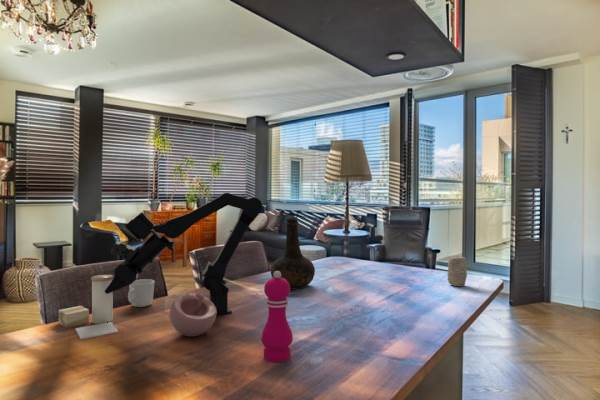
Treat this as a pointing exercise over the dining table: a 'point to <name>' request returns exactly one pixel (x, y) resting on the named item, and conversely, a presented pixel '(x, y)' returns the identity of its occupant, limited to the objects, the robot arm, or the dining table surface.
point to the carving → (457, 270)
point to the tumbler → (101, 299)
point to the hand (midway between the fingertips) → (109, 288)
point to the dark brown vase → (294, 260)
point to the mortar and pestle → (192, 314)
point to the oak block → (73, 316)
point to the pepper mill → (277, 320)
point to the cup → (141, 292)
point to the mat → (96, 330)
